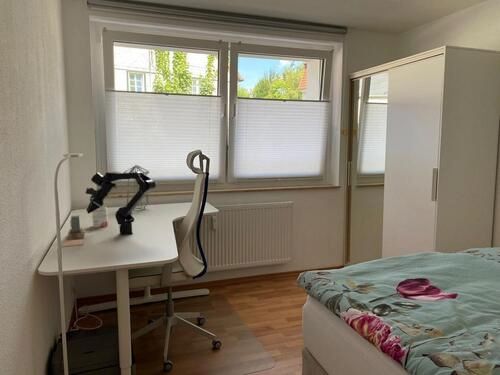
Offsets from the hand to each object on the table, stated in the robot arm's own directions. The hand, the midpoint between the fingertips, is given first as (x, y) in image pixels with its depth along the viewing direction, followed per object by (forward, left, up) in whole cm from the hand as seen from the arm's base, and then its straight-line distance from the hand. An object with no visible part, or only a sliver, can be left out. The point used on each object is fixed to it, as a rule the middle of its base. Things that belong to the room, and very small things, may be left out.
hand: (87, 212), depth 215 cm
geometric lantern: (-35, -67, -14) cm, 77 cm away
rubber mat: (+7, +17, -13) cm, 23 cm away
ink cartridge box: (-7, -20, -14) cm, 25 cm away
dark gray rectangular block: (+6, +3, -10) cm, 13 cm away
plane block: (+6, +3, -13) cm, 15 cm away
